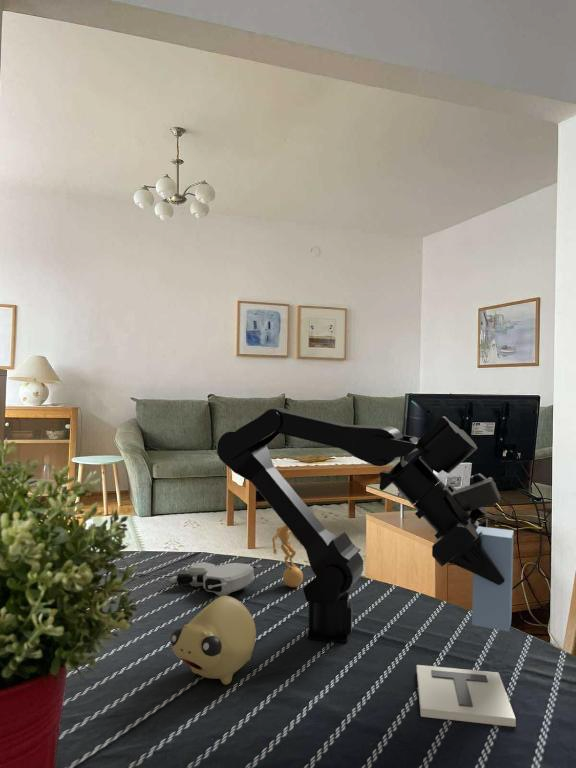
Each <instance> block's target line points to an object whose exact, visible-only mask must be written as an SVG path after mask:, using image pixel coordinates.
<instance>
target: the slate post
mask: <svg viewBox="0 0 576 768" xmlns="http://www.w3.org/2000/svg"><path fill="white" fill-rule="evenodd" d="M476 531H477V533H478V534H479V533H480V532H481V531H482V546H483V549H484V550H485V551H486V553H487V554H488V556H489V557H490V559H491V560H492V562H493V563H494V564H495V566H496V567H497V569H498V570H499V572H500V573H501V575H502V576H503V578H504V582H503V583H502V584H501V585H497V584H495V583H493V582H491V581H489V580H487V579H485V578H483V577H481V576H479V575H477V574H474V573H472V574H473V575H472V603H471V605H472V606H471V607H472V609H471V611H472V613H471V626H477V627H481V628H486V629H491V630H498V631H502V632H511V631H510V629H511V624H512V618H513V617H512V612H513V611H512V609H513V607H512V606H513V576H514V575H513V573H514V569H513V568H514V567H513V566H514V534H515V533H514V532H515V531H514V530H512V529H505V528H496V527H488V526H487V527H480V526H478V527H477V529H476Z"/></svg>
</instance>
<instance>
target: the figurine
mask: <svg viewBox="0 0 576 768" xmlns="http://www.w3.org/2000/svg"><path fill="white" fill-rule="evenodd" d="M290 535H291V536H292V537H294V539H295V540H296V541H297V542H298V543H299V545H300V546H301V547H303V546H302V544H301V543H300V542H299V541H298V539H297V538H296V537H295V536H294V534H293V533H292V532H291V531H290V529H289V528H288V527H287V526H286V524H285V525H284V526H279V527H277V529H276V533H275V534H274V535H273V537H272V538H271V539H272V540H271V541H272V549H273V555H275V556H276V555H277V554H278V550H277V549H276V539H277V538H279V540H280V542H281V546H280V548H281V550H282V552H283V553H284V555H285V556H284V563H285V565H286V566H287V568H286V569H284V571H283V575H282V580H283V583H284V584H285V585H286V586H288V587H289V588H297V587H299V586H300V585H301V584H302V582H303V580H304V574H303V571H302V570H301V569H300V568H299V567H298V565H296V564H295V563H294V562H293V560H292V559H293V558H294V557H295V556H296V550H295V549H294V547H293V545H292V543H291V542H290V541H289V539H290ZM290 553H291V554H290ZM288 560H289V562H290V563H289V562H288Z"/></svg>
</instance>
